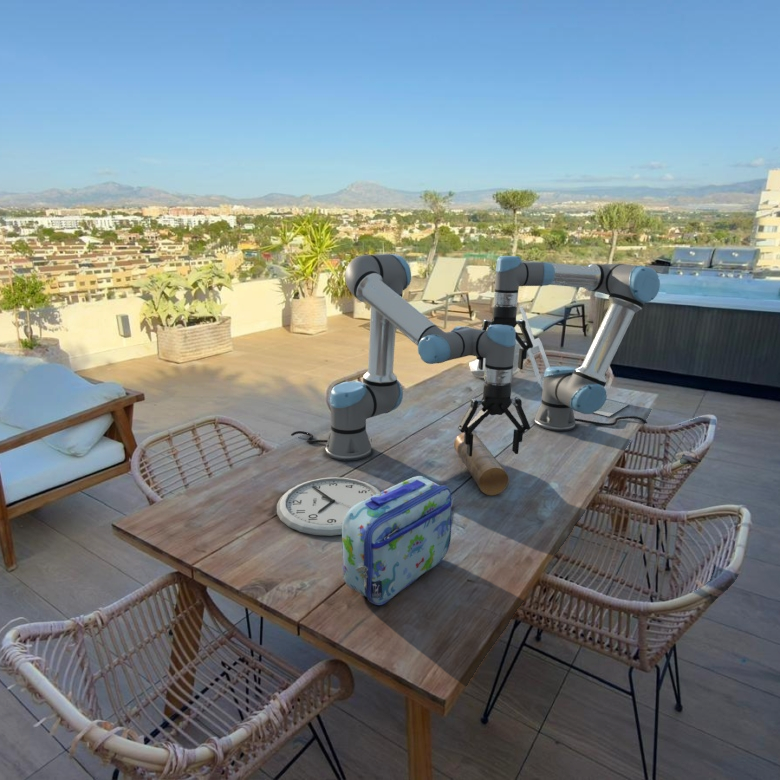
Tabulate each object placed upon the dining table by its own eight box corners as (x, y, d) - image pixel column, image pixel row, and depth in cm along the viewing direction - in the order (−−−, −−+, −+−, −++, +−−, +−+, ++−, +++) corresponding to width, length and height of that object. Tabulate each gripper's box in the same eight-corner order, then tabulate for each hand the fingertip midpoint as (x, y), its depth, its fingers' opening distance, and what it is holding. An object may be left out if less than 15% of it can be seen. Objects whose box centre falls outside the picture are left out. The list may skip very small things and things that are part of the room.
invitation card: (608, 416, 214) (573, 407, 224) (608, 416, 214) (573, 408, 224) (628, 404, 229) (594, 396, 238) (628, 405, 229) (594, 397, 238)
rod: (453, 456, 175) (454, 431, 172) (478, 455, 176) (480, 430, 174) (477, 496, 149) (479, 468, 146) (507, 494, 150) (509, 466, 148)
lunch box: (371, 618, 102) (371, 524, 95) (336, 591, 109) (334, 502, 103) (455, 562, 119) (460, 479, 113) (420, 542, 126) (423, 463, 120)
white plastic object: (489, 418, 267) (470, 395, 242) (471, 346, 289) (451, 318, 264) (561, 394, 254) (547, 368, 230) (535, 321, 277) (521, 289, 252)
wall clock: (392, 527, 129) (268, 531, 127) (391, 533, 130) (269, 537, 127) (383, 473, 158) (282, 475, 155) (383, 478, 158) (282, 480, 156)
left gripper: (457, 387, 138) (453, 460, 144) (546, 384, 141) (539, 456, 147) (450, 379, 145) (446, 450, 151) (535, 377, 148) (528, 446, 155)
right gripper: (470, 307, 164) (466, 372, 171) (546, 306, 166) (540, 371, 173) (464, 303, 171) (461, 366, 178) (538, 303, 174) (532, 365, 180)
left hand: (492, 453), depth 149 cm, fingers open, 13 cm apart
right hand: (500, 368), depth 175 cm, fingers open, 13 cm apart
